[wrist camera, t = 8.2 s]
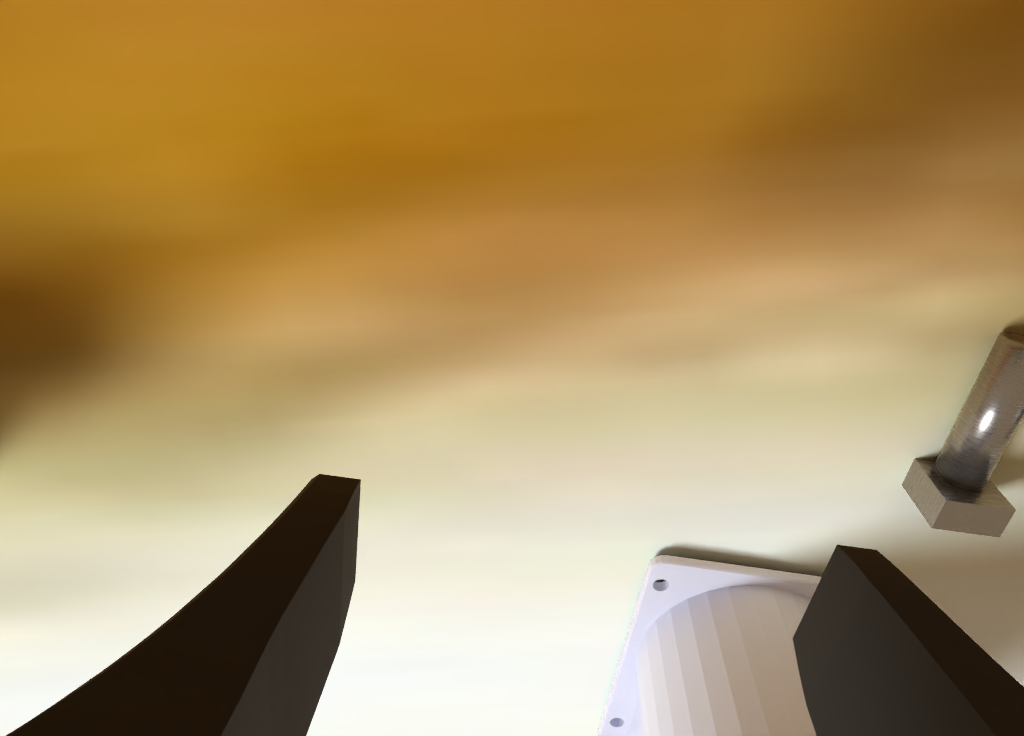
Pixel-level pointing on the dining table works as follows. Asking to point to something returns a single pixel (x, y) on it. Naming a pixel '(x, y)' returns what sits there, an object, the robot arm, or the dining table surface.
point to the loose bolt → (975, 450)
